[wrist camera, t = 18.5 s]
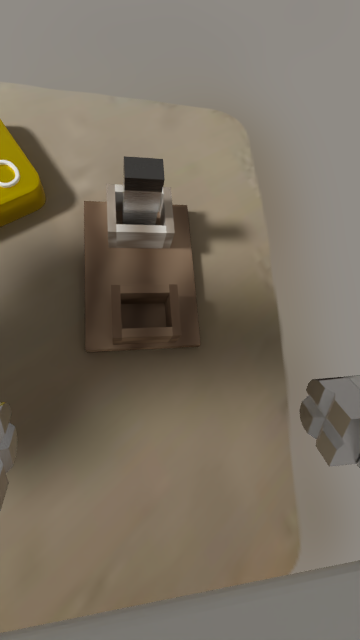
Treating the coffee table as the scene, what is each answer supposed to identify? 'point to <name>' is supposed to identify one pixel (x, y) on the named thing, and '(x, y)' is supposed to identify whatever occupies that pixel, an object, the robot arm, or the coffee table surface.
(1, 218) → the element tile
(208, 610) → the robot arm
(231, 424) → the coffee table surface
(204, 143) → the coffee table surface
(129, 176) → the brushed metal bar
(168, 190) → the caddy
